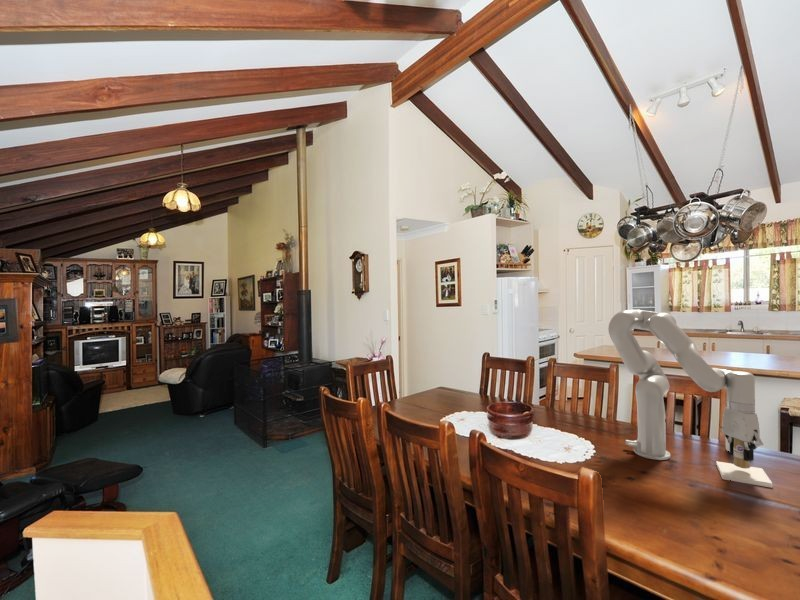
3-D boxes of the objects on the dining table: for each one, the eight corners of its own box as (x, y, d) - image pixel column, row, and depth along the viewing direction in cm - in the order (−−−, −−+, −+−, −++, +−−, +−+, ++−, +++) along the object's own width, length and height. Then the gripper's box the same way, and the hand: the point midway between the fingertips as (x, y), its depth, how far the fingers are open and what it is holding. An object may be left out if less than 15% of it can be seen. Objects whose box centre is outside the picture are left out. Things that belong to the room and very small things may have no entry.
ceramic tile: (722, 479, 136) (722, 474, 136) (716, 465, 147) (716, 461, 147) (772, 487, 129) (772, 483, 129) (762, 472, 140) (762, 468, 140)
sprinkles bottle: (733, 466, 138) (733, 429, 137) (733, 462, 141) (733, 425, 141) (750, 470, 135) (750, 432, 134) (750, 465, 138) (749, 428, 138)
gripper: (709, 400, 146) (710, 448, 146) (755, 414, 129) (756, 468, 129) (727, 399, 146) (728, 447, 147) (775, 412, 130) (776, 467, 130)
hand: (741, 456), depth 138 cm, fingers closed on sprinkles bottle, 4 cm apart
